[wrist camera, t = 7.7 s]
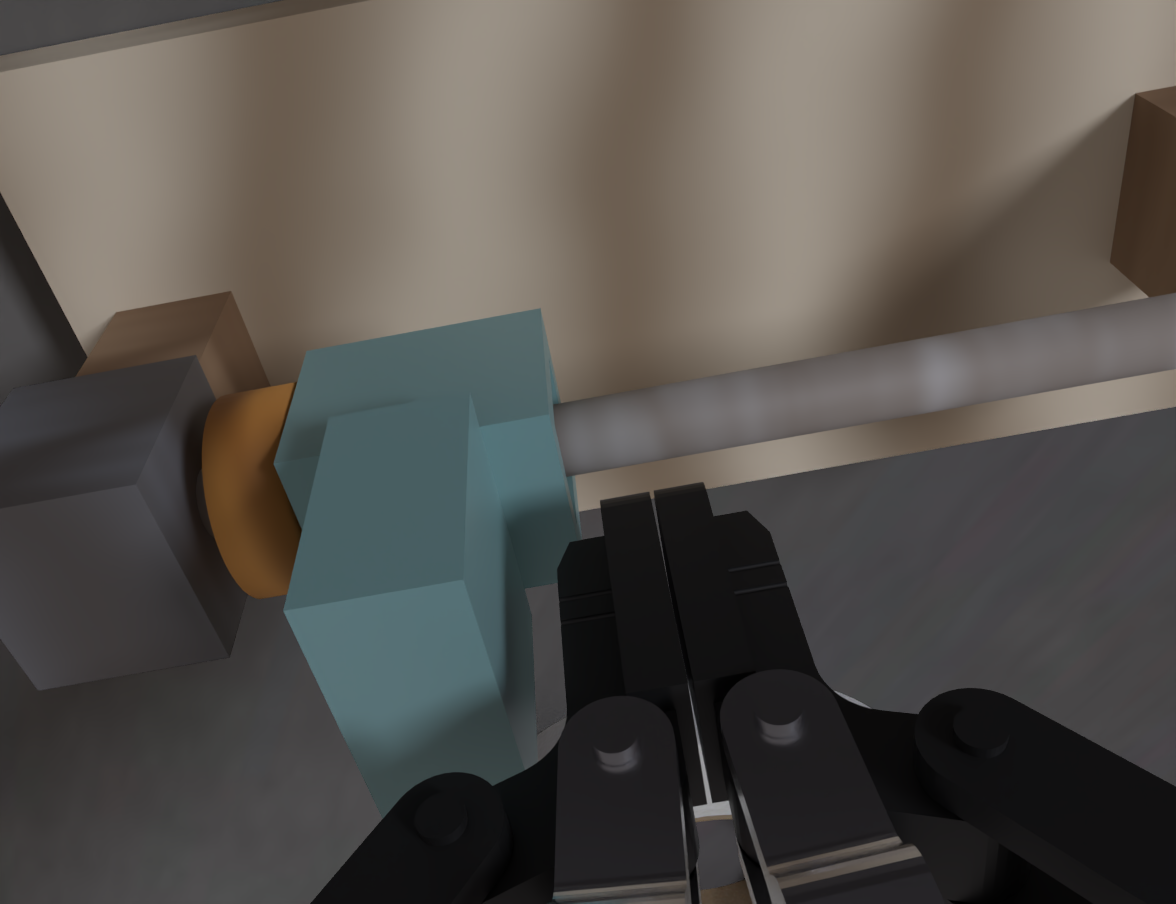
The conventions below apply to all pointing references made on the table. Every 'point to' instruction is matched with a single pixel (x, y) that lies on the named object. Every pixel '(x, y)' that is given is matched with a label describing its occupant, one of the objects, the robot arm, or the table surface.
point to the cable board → (560, 256)
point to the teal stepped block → (427, 542)
